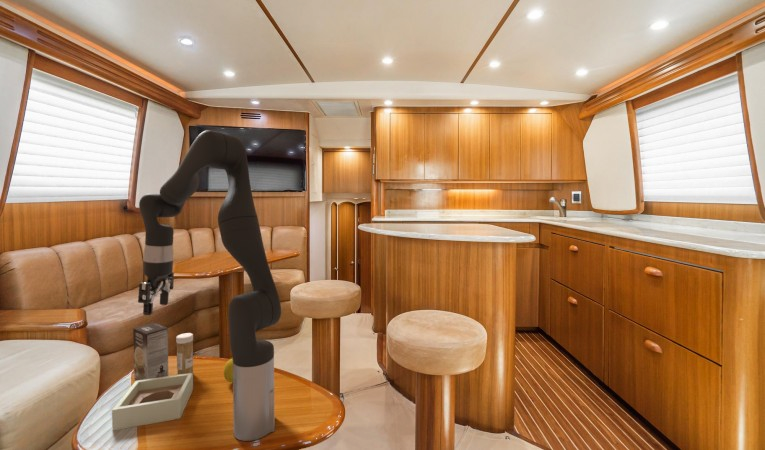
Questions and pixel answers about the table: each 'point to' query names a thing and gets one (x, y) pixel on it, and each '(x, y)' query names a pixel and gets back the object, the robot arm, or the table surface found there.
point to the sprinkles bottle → (185, 353)
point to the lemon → (229, 370)
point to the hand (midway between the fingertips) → (156, 309)
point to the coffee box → (150, 351)
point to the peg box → (153, 401)
